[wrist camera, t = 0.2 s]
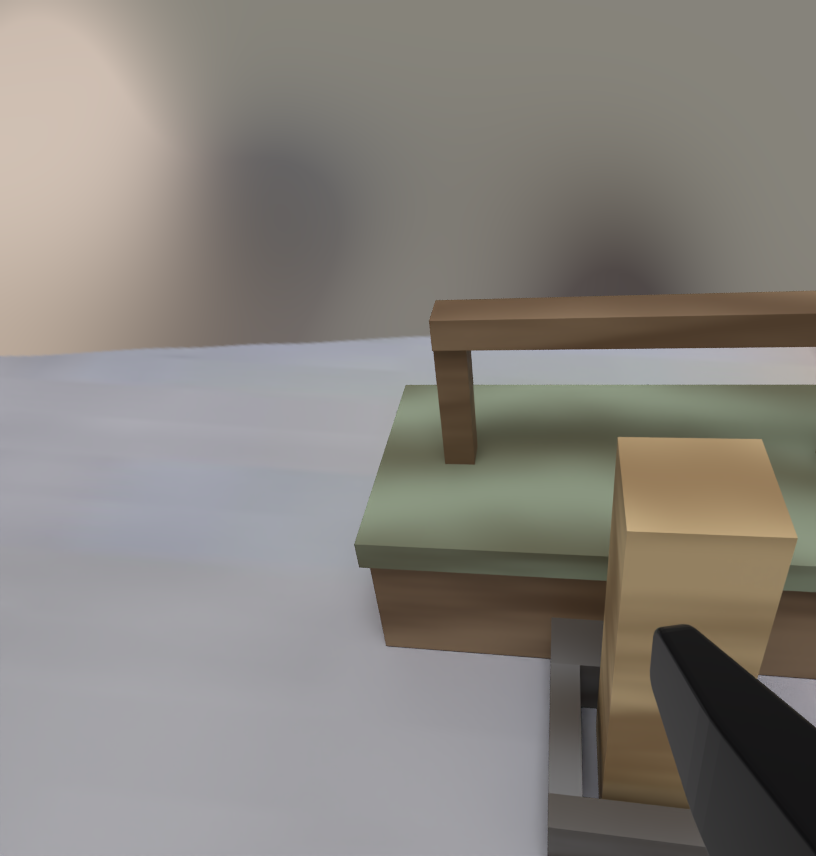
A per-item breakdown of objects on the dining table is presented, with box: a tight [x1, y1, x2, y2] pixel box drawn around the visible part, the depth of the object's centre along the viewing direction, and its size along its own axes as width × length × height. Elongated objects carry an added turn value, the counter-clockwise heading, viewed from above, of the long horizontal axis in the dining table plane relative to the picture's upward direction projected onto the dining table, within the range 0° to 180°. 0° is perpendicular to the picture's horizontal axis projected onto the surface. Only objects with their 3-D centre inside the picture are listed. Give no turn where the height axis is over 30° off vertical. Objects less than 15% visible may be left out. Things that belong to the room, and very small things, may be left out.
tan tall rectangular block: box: [596, 437, 798, 809], centre depth 20 cm, size 3×3×13 cm
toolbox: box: [354, 291, 816, 856], centre depth 25 cm, size 18×21×13 cm
